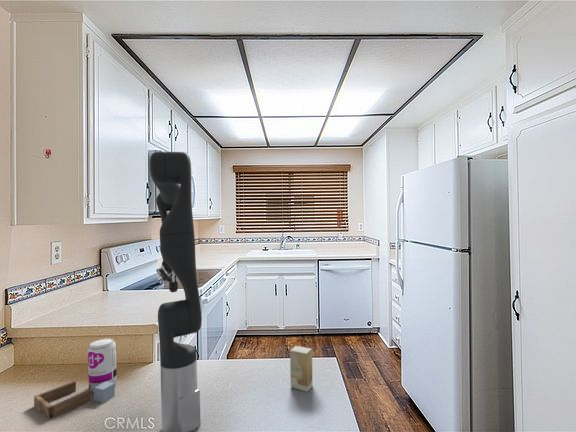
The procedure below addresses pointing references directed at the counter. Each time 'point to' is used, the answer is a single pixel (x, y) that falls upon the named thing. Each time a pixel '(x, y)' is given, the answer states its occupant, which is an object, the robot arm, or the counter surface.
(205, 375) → the counter surface
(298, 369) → the skincare box
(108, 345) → the supplement can
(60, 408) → the frame
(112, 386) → the slate-blue block
